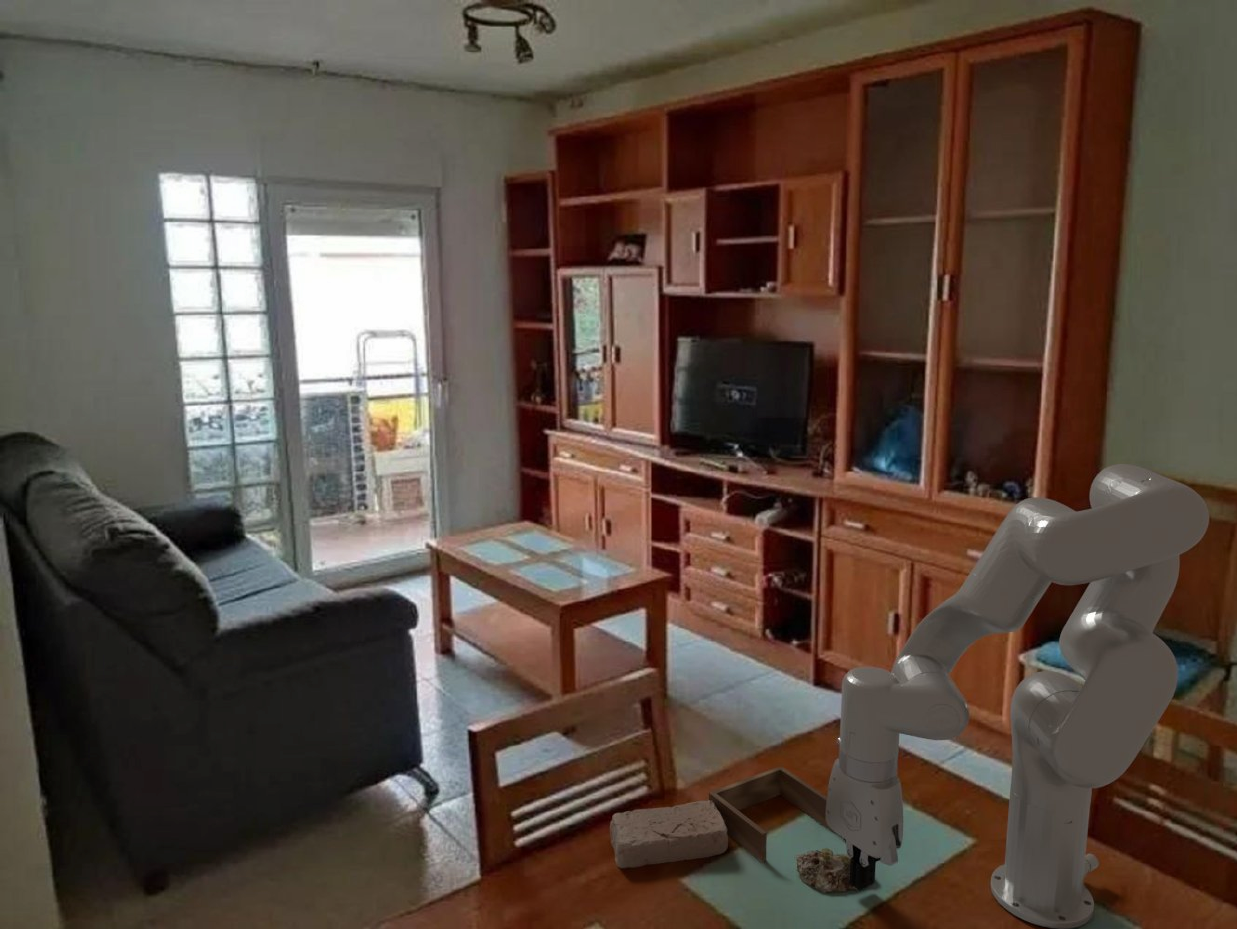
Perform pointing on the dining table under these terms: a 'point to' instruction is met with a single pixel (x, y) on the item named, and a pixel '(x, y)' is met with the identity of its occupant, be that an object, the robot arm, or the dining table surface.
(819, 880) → the mineral rock
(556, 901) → the dining table surface
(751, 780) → the box
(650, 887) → the dining table surface
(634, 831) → the brick
